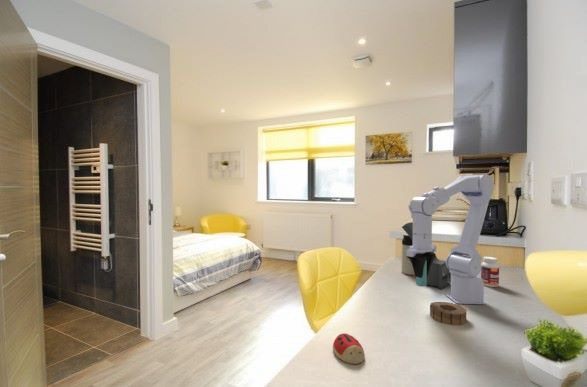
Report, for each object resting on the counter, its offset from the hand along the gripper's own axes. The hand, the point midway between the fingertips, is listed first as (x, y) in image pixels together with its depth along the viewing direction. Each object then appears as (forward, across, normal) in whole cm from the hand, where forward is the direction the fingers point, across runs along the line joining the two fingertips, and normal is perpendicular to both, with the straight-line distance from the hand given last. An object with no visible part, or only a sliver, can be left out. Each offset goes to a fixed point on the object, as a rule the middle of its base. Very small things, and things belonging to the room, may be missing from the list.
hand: (421, 276), depth 98 cm
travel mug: (+11, -35, -25) cm, 45 cm away
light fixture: (+11, -27, -14) cm, 32 cm away
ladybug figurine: (+11, +40, +5) cm, 41 cm away
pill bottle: (+11, -45, +3) cm, 46 cm away
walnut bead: (+10, 0, +9) cm, 14 cm away
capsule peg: (+3, 0, 0) cm, 3 cm away
